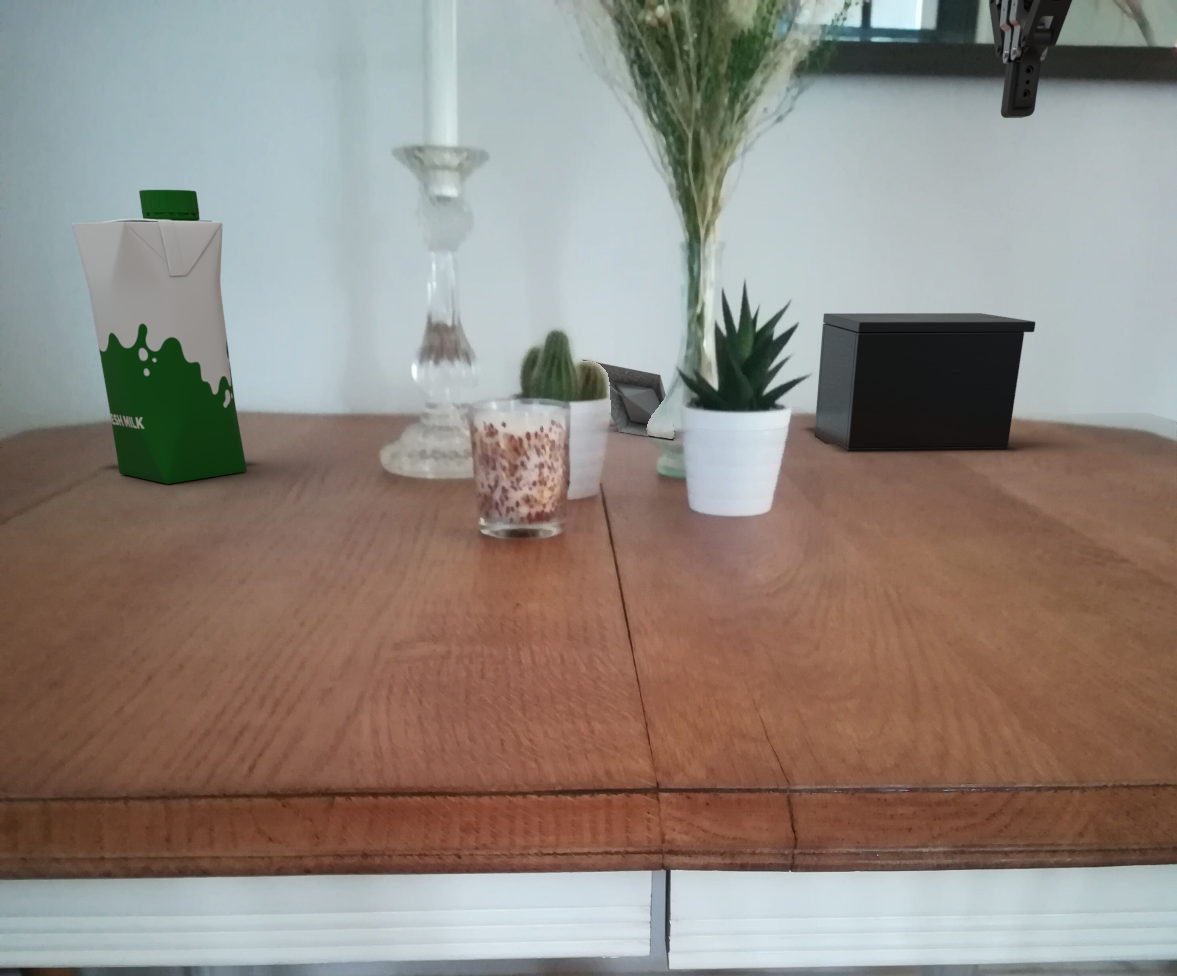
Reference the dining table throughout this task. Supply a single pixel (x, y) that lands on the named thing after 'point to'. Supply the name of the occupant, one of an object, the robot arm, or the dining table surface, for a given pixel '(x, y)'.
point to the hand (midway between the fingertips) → (1016, 116)
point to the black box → (917, 390)
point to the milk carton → (163, 339)
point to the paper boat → (633, 397)
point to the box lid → (926, 322)
